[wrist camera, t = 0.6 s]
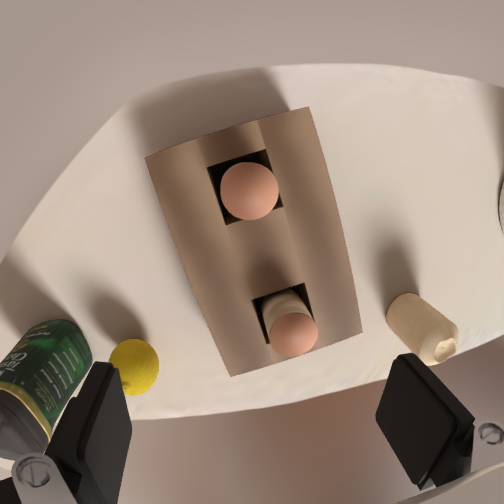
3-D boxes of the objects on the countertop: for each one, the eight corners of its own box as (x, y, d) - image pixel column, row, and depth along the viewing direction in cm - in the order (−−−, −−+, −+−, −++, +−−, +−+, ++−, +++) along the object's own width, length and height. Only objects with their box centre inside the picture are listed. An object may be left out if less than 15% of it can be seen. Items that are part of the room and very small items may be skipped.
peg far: (296, 282, 30) (312, 308, 25) (306, 317, 32) (322, 347, 26) (256, 295, 30) (263, 324, 25) (267, 330, 31) (277, 362, 26)
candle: (398, 287, 37) (443, 323, 27) (427, 298, 38) (473, 332, 28) (378, 325, 38) (417, 369, 28) (408, 334, 39) (448, 375, 29)
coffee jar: (74, 309, 34) (-5, 410, 16) (102, 364, 36) (51, 476, 18) (21, 325, 33) (-56, 410, 16) (49, 374, 36) (-8, 468, 18)
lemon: (163, 329, 35) (151, 370, 28) (163, 368, 37) (153, 412, 29) (117, 323, 34) (96, 362, 27) (120, 362, 36) (102, 403, 28)
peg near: (259, 156, 27) (269, 155, 21) (272, 200, 28) (285, 210, 23) (214, 170, 27) (212, 172, 21) (228, 214, 28) (230, 227, 23)
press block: (293, 115, 30) (308, 106, 24) (343, 307, 36) (362, 332, 31) (158, 158, 30) (144, 157, 24) (228, 345, 36) (230, 377, 31)
